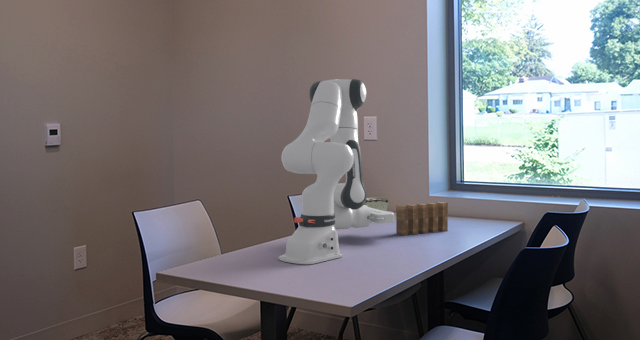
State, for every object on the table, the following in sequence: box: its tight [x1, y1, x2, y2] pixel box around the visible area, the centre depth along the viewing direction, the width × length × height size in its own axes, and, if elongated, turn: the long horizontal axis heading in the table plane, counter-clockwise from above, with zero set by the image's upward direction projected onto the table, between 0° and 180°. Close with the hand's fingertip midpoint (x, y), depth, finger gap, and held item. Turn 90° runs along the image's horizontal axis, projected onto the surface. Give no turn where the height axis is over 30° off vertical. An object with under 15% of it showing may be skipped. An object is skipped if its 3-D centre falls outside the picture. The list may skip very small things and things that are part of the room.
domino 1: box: [395, 204, 409, 237], centre depth 219 cm, size 2×5×12 cm, turn 24°
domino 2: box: [405, 203, 419, 236], centre depth 221 cm, size 2×5×12 cm, turn 24°
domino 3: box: [415, 202, 429, 234], centre depth 223 cm, size 2×5×12 cm, turn 24°
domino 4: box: [425, 202, 439, 233], centre depth 225 cm, size 2×5×12 cm, turn 24°
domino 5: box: [435, 201, 449, 232], centre depth 227 cm, size 2×5×12 cm, turn 24°
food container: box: [365, 197, 390, 211], centre depth 262 cm, size 12×6×10 cm, turn 84°
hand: (391, 213), depth 217 cm, fingers closed
